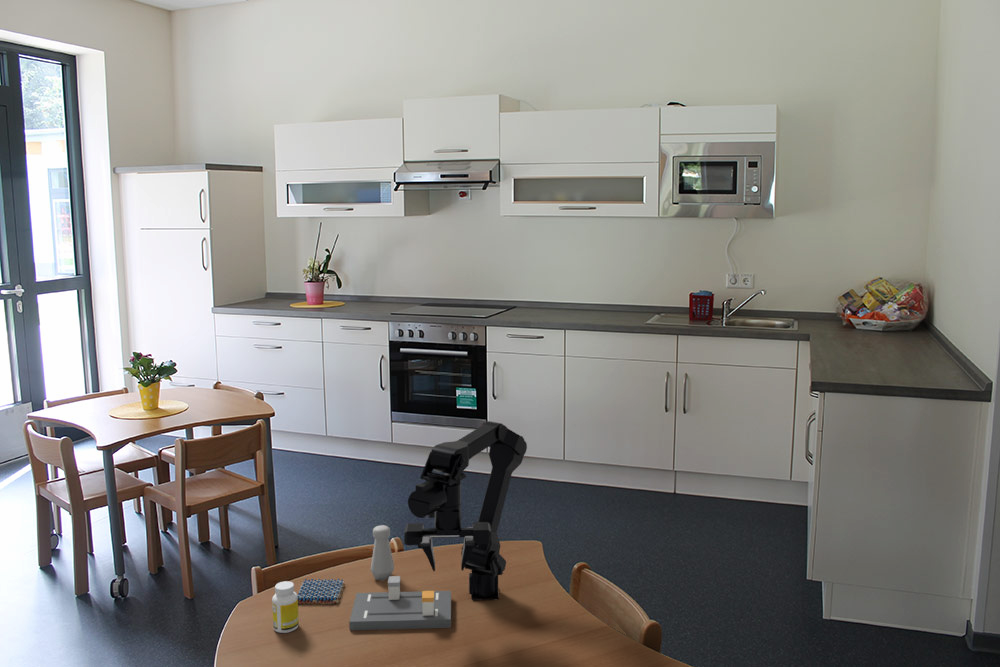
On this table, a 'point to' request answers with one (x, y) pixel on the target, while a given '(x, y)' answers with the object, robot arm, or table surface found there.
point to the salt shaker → (382, 554)
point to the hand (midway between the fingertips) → (448, 570)
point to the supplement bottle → (285, 608)
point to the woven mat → (320, 591)
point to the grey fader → (394, 587)
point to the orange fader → (428, 602)
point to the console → (399, 611)
